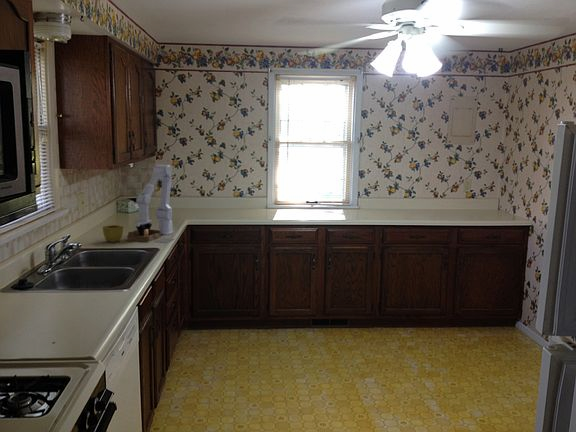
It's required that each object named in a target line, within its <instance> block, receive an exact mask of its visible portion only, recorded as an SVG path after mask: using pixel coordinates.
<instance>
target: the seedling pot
mask: <svg viewBox="0 0 576 432" xmlns="http://www.w3.org/2000/svg"><path fill="white" fill-rule="evenodd" d="M144 236H147V237H148V229H147V228H145V230H144Z"/></svg>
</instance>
